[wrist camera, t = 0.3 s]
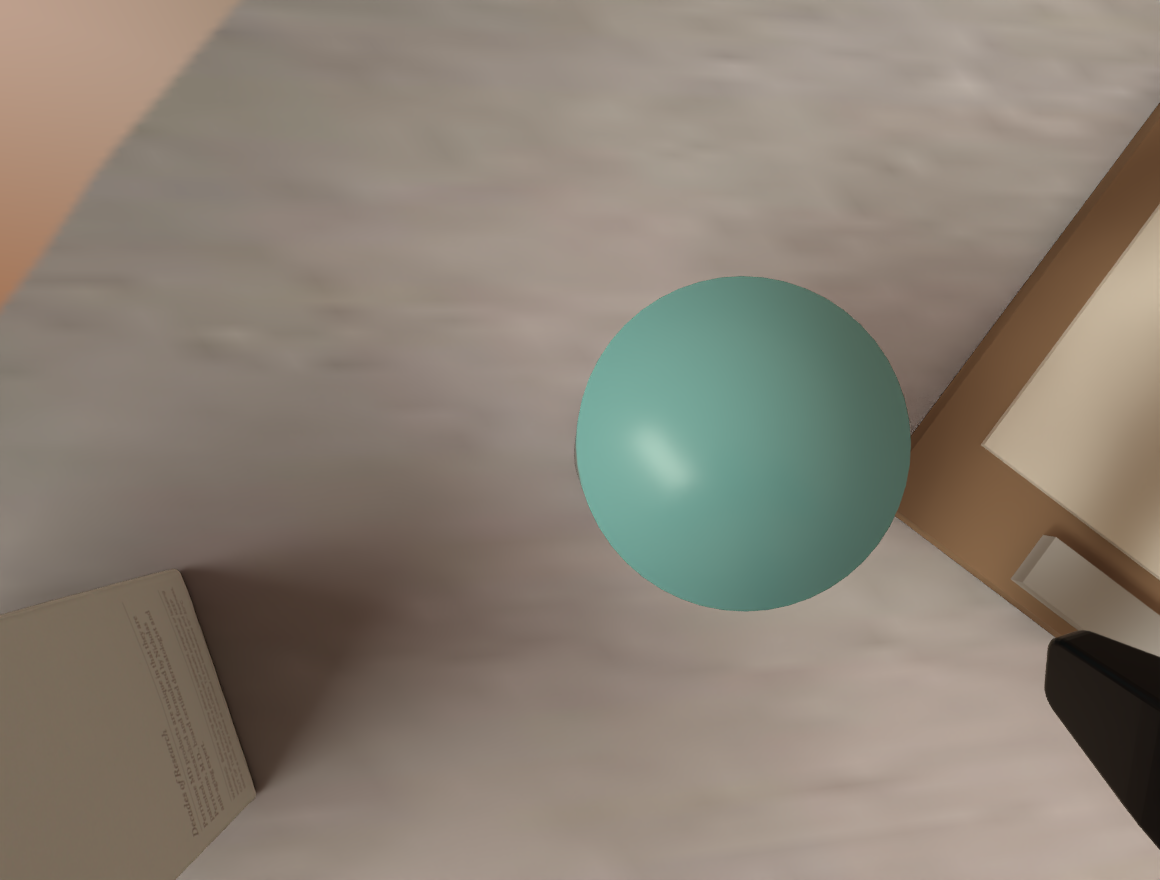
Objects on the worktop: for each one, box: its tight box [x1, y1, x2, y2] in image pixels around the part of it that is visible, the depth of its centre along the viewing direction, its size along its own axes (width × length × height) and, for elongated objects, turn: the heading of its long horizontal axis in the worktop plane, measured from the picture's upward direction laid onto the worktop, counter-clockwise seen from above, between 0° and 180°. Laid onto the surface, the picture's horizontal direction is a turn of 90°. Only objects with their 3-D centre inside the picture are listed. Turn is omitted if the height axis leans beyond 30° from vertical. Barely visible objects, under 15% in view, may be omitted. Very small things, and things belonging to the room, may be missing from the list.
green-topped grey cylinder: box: [574, 276, 911, 611], centre depth 17 cm, size 4×4×13 cm
